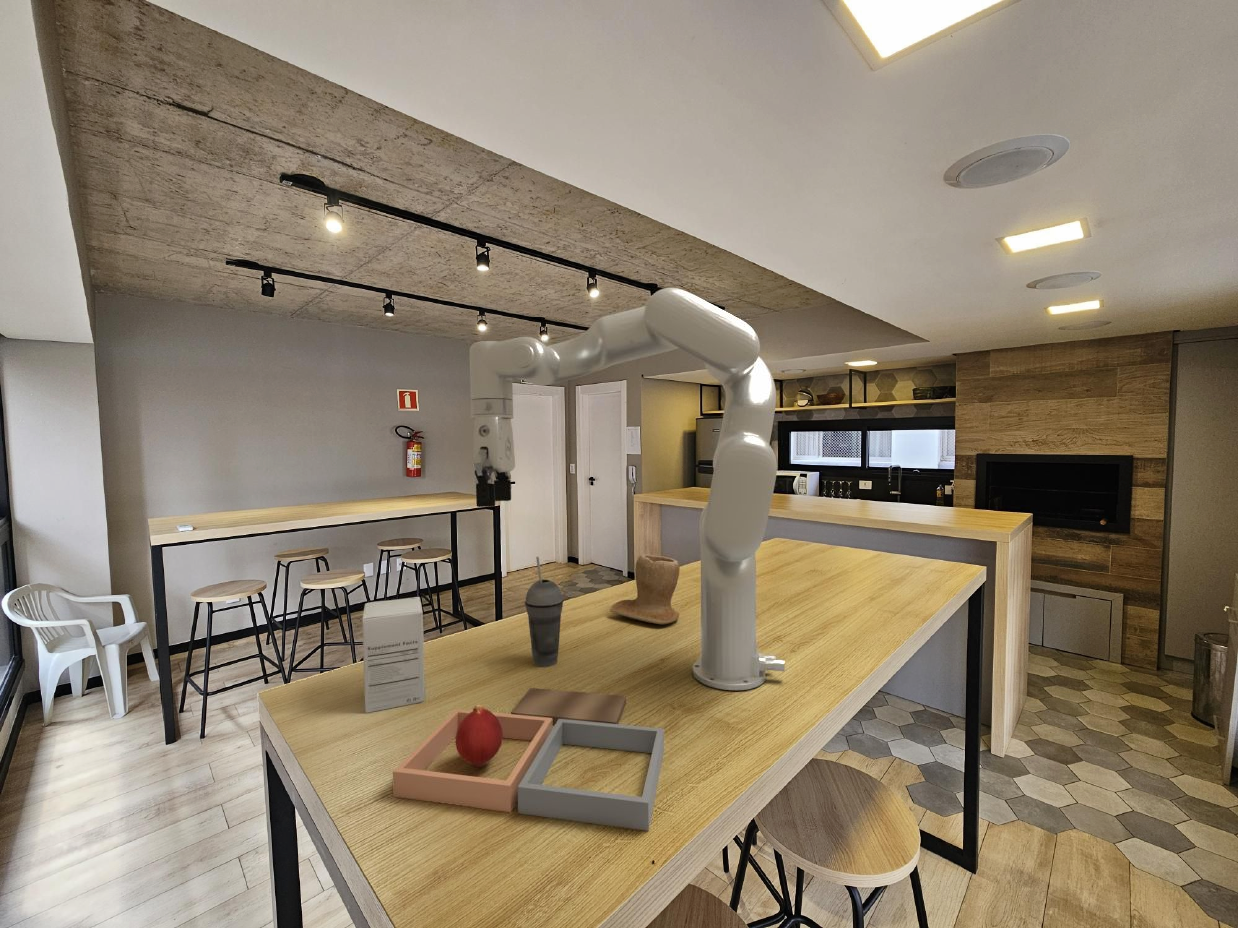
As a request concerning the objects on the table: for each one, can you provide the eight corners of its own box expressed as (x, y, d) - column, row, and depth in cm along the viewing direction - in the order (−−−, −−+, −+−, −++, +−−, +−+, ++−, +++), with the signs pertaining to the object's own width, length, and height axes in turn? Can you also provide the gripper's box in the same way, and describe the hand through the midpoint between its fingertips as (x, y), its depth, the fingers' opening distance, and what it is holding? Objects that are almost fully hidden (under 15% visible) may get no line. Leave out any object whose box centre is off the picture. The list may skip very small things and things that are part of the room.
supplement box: (366, 689, 88) (364, 602, 87) (423, 679, 91) (420, 595, 91) (363, 714, 79) (360, 618, 79) (425, 702, 83) (423, 610, 82)
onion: (462, 753, 69) (460, 694, 69) (505, 750, 69) (504, 692, 69) (451, 781, 63) (450, 717, 63) (499, 778, 64) (498, 714, 63)
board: (626, 703, 82) (626, 695, 82) (615, 730, 74) (615, 722, 74) (530, 694, 85) (530, 687, 85) (510, 720, 77) (510, 712, 77)
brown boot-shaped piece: (690, 617, 122) (689, 554, 122) (662, 632, 113) (661, 564, 112) (638, 606, 132) (638, 547, 131) (608, 618, 122) (608, 555, 122)
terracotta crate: (552, 739, 72) (552, 717, 72) (510, 812, 58) (510, 785, 57) (456, 729, 75) (455, 708, 75) (393, 796, 60) (392, 771, 60)
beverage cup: (557, 671, 94) (555, 561, 93) (519, 668, 95) (517, 560, 95) (569, 655, 101) (567, 553, 100) (534, 652, 102) (532, 552, 102)
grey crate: (664, 750, 69) (663, 728, 69) (648, 830, 55) (648, 802, 54) (559, 739, 72) (558, 718, 72) (518, 813, 57) (517, 786, 57)
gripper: (497, 406, 86) (500, 508, 87) (524, 413, 103) (526, 498, 104) (453, 407, 87) (456, 509, 87) (488, 414, 104) (490, 499, 104)
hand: (494, 503), depth 96 cm, fingers open, 9 cm apart
